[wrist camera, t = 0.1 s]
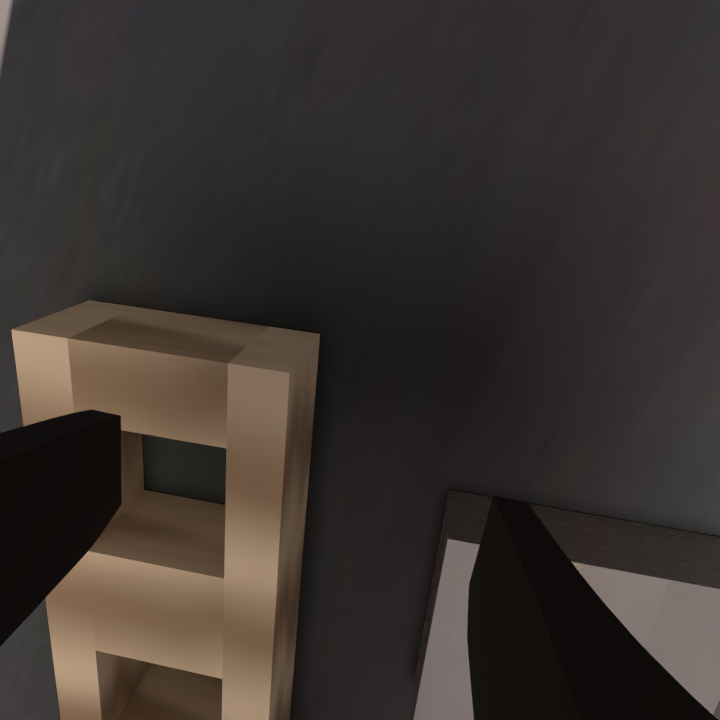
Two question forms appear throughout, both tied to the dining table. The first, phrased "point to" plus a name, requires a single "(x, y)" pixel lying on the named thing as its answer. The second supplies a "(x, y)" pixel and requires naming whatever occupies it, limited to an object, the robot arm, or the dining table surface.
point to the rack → (181, 512)
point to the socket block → (606, 577)
